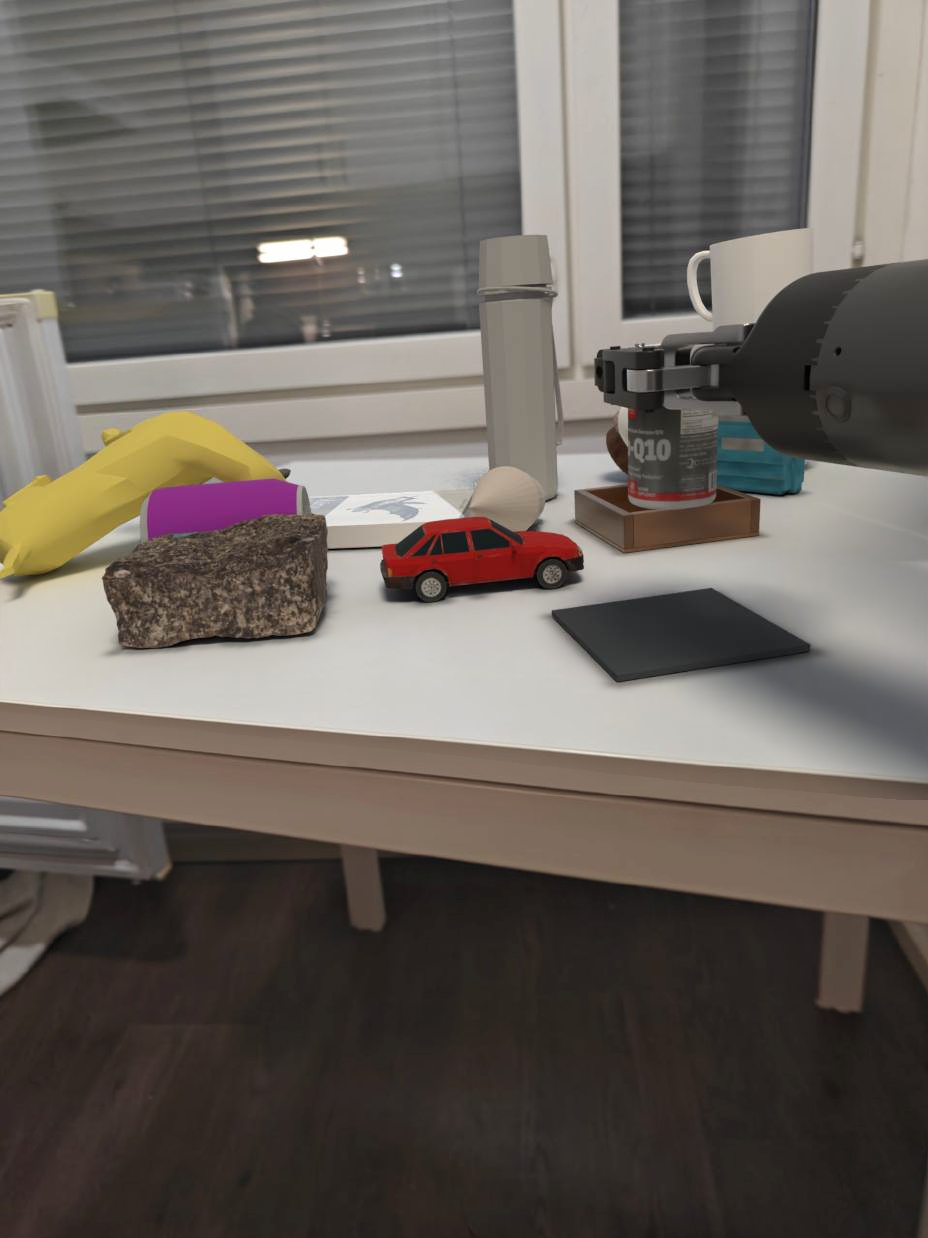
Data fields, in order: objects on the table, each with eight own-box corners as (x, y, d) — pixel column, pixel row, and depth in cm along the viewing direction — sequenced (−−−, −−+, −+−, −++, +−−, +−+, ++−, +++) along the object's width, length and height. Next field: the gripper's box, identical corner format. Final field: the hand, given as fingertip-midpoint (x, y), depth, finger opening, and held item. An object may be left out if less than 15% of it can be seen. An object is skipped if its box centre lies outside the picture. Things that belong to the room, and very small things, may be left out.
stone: (321, 636, 53) (306, 545, 51) (110, 656, 53) (87, 565, 51) (339, 583, 63) (328, 505, 61) (163, 599, 63) (146, 522, 61)
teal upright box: (808, 489, 82) (819, 326, 77) (788, 497, 79) (797, 329, 74) (718, 481, 89) (723, 330, 84) (697, 488, 86) (700, 333, 81)
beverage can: (165, 605, 67) (316, 592, 67) (131, 550, 60) (299, 536, 61) (172, 528, 71) (315, 516, 71) (141, 467, 64) (299, 455, 65)
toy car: (591, 586, 59) (589, 515, 57) (385, 608, 57) (377, 537, 56) (568, 562, 65) (566, 498, 63) (381, 582, 63) (374, 517, 62)
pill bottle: (611, 502, 48) (608, 347, 45) (676, 490, 50) (677, 340, 47) (666, 514, 44) (667, 345, 41) (735, 501, 46) (740, 338, 43)
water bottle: (522, 509, 83) (508, 233, 75) (474, 500, 89) (457, 244, 81) (589, 493, 88) (583, 233, 80) (539, 485, 94) (529, 243, 86)
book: (208, 553, 75) (204, 531, 74) (261, 517, 88) (258, 499, 87) (463, 543, 72) (461, 520, 71) (480, 507, 85) (479, 488, 84)
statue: (20, 661, 76) (120, 673, 62) (-81, 542, 70) (5, 527, 57) (228, 502, 91) (346, 484, 78) (159, 394, 86) (273, 353, 72)
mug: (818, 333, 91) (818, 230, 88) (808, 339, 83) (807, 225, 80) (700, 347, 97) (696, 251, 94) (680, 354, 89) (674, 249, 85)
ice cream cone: (463, 450, 64) (523, 451, 78) (418, 512, 67) (484, 503, 80) (522, 502, 63) (572, 494, 77) (475, 563, 66) (532, 544, 79)
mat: (711, 593, 55) (711, 587, 55) (810, 651, 45) (811, 644, 45) (551, 616, 53) (551, 610, 53) (617, 682, 43) (617, 675, 43)
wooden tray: (692, 508, 79) (693, 476, 78) (759, 535, 68) (760, 498, 67) (574, 522, 77) (573, 489, 76) (624, 553, 66) (623, 515, 65)
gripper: (1046, 252, 33) (750, 286, 48) (748, 270, 28) (523, 301, 43) (1020, 447, 35) (745, 420, 50) (741, 494, 30) (530, 449, 45)
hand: (644, 365), depth 47 cm, fingers closed on pill bottle, 4 cm apart
